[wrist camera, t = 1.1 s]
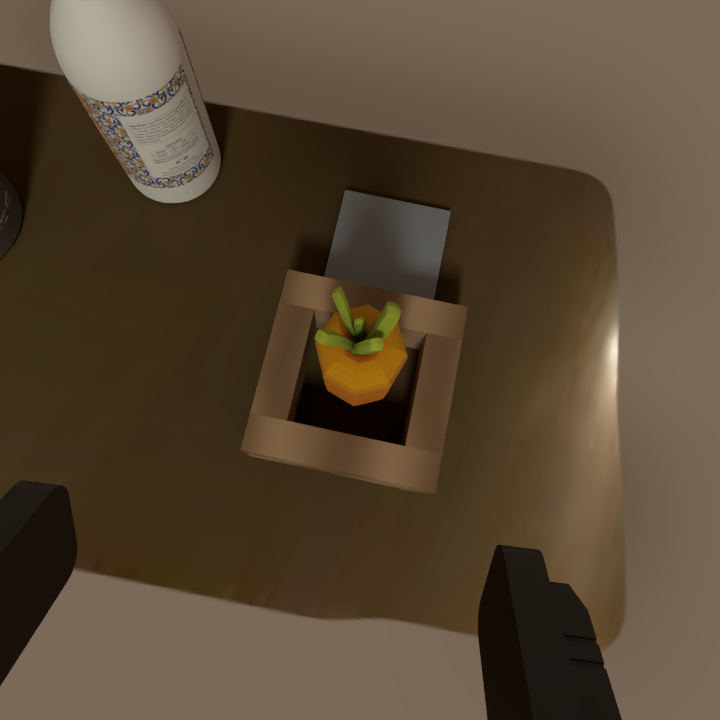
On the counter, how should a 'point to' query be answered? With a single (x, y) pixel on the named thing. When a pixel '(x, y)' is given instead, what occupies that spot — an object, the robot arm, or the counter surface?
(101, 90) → the bath foam
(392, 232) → the plate
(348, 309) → the carrot
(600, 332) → the counter surface
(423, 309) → the holder
